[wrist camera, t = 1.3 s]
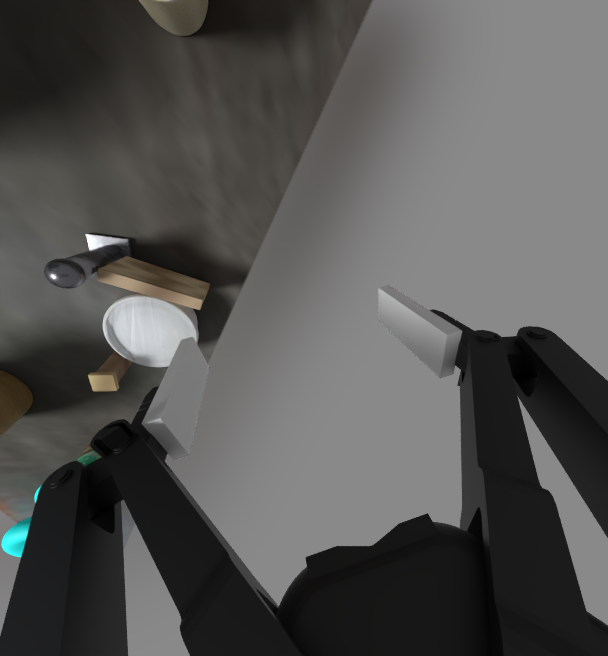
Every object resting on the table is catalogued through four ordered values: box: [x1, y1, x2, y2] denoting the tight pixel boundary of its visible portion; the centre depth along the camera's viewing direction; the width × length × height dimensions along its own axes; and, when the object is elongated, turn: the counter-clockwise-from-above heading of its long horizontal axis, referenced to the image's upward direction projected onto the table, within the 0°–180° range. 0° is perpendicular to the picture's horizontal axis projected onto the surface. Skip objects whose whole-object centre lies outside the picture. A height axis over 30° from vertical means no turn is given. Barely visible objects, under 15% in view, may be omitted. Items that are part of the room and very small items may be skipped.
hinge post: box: [44, 233, 133, 288], centre depth 26 cm, size 4×4×11 cm
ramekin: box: [103, 293, 199, 367], centre depth 33 cm, size 11×11×5 cm
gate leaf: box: [97, 256, 210, 310], centre depth 29 cm, size 10×1×7 cm, turn 65°
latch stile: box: [88, 351, 133, 391], centre depth 33 cm, size 3×3×9 cm
